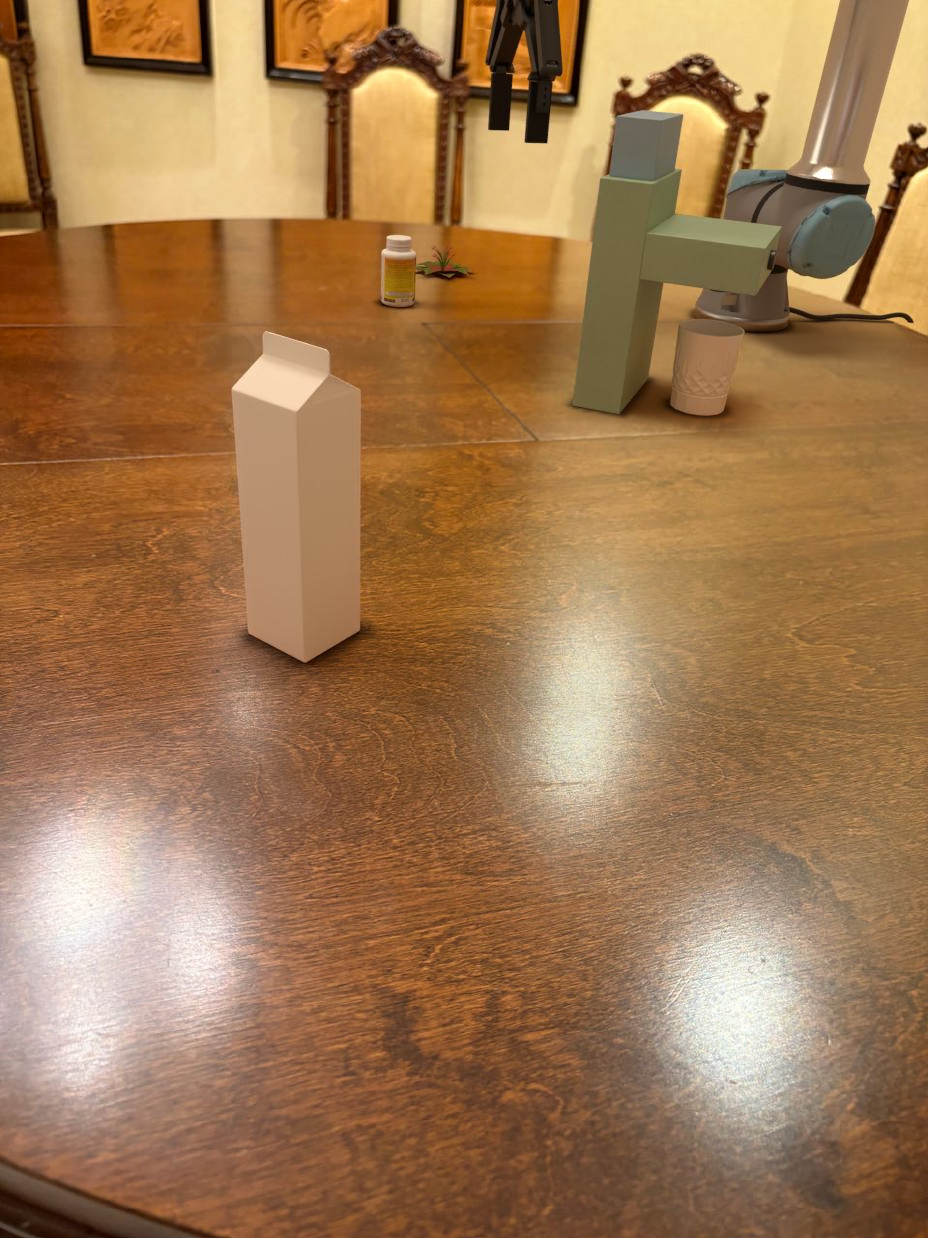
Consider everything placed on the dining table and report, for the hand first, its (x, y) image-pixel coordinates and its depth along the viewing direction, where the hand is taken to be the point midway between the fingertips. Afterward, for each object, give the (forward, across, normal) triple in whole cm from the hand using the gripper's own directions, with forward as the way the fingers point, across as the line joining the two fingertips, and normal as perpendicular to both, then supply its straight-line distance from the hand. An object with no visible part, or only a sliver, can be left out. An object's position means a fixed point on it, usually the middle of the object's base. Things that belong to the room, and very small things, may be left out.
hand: (516, 136), depth 122 cm
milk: (+28, +66, -39) cm, 82 cm away
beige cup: (+28, +25, +18) cm, 41 cm away
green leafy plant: (+28, -49, +6) cm, 57 cm away
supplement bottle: (+28, -28, -8) cm, 40 cm away
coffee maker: (+28, +22, +14) cm, 38 cm away
